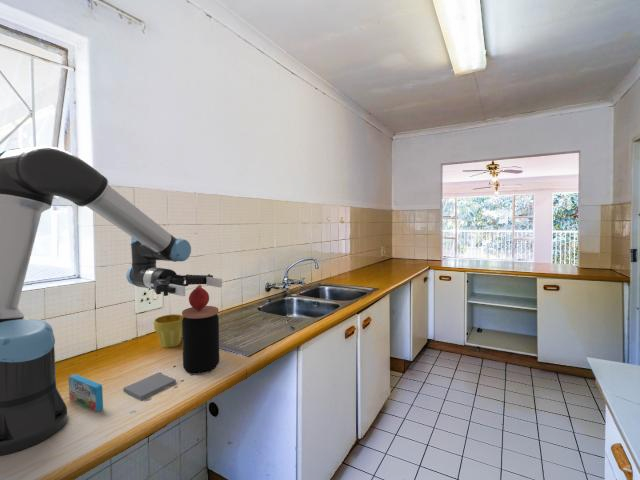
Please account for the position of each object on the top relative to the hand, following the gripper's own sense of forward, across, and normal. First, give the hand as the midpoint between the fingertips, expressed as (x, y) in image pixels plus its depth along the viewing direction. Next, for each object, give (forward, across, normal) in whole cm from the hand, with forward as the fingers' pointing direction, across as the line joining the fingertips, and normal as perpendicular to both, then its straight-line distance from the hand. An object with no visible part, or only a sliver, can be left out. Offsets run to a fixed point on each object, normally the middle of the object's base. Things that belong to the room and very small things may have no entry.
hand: (203, 287), depth 97 cm
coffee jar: (-2, 0, -26) cm, 26 cm away
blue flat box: (-10, +28, -26) cm, 40 cm away
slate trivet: (-4, +15, -26) cm, 30 cm away
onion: (-2, 0, -8) cm, 8 cm away
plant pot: (-26, -6, -26) cm, 37 cm away
